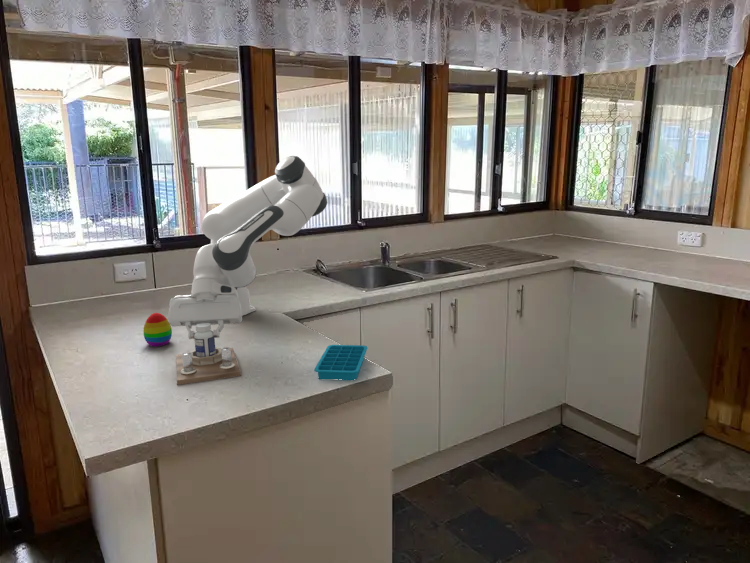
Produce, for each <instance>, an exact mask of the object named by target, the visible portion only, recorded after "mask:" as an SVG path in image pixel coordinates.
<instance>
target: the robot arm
mask: <svg viewBox="0 0 750 563" xmlns="http://www.w3.org/2000/svg"><path fill="white" fill-rule="evenodd" d="M327 205H328V199H327V197H326V194H325V192H323V189H322V187H321V186H320V183H319V182H318V180H317V178H316V177H315V176H314V175H313V173H312V171H310V170H309V168H308V167H307V166H306V163H305V161H303V160H302V158H300V157H299V156H296V155H291V156H287V157H285V158H283V159H282V160H281V161H279V162H278V163H277V165H276V166H275V169H274V175H271V176H268V177H267V178H265V179H263V180H261V181H260V182H258V183H256V184H255V185H253V186H251V187H250V188H248V189H246V190H244V191H243V192H241V193H239V194H237V195H235V196H234V197H231V198H230V199H228V200H227V201H225V202H224V203H221V204H220V205H218V206H216V207H214V208H213V209H211V210H209V211H208V212H206V214H205V215H204V217H203V218H202V222H201V230H202V233H203V234H204V235H205V237H206V238H208V239H209V240H210V243H209V244H205V245H203V246H201V247H200V248H199V249H198V250H197V253H196V254H195V257H194V258H195V259H194V263H193V270H192V271H193V272H192V274H193V280H192V283H191V291H190V292H191V294H186V295H175V296H174V297H172V298H171V299H170V300H169V303H168V304H169V306H168V307H169V310H168V313H167V314H168V315H167V320H168V322H169V323H170V325H171V327H174V328H175V327H185V328H186V331H187V332H188V335H187V336H188V339H189V340H194V334H195V333H196V332H195V330H191V329H192V328H193V327H194V326H195V327H196V325H197V324H200V323H210V324H211V326H212V325H218V327H217V328H216V329H213V330H212V331H213V332H214V333H213V337H214V338H217V339H218V338H220V337H221V336H220V333H221V332H222V331H223V329H224V328H225V325H230V324H240V323H241V322H242V321H243V316H245V315H247V314H250V313H253V312H255V311H256V307H255V306H253V305H252V304H251V301H250V291H249V289H248V288H247V286H249V285H251V284H252V283H253V282H254V281H255V278H256V276H257V270H256V265H255V263H254V260H253V258H252V255H251V249H252V246H253V245H254V244H255V242H257V241H258V240H259V239H261V238H262V237H263V236H264V235H265V234H267V233H268V232H269V231H271V230H272V231H273V232H274V233H277V234H278V235H281V236H285V237H289V236H293V235H295V234H297V233H298V232H299V231H300V230H302V229H303V228H304V226H305V225H306V224H307V223H308V222H309V221H310V220H311V218H312V217H316V216H318V215H319V214H321V213H322V212H324V211H325V209H326V207H327Z"/></svg>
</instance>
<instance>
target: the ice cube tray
mask: <svg viewBox="0 0 750 563" xmlns="http://www.w3.org/2000/svg"><path fill="white" fill-rule="evenodd" d="M367 351H368V346H367V345H363V344H362V345H361V344H360V345H356V344H355V345H353V344H350V345H349V344H329V345H328V346H327V347H326V349H325V350H324V352H323V354H322V355H321V357H320V359H319V361H318V362H317V363H316V366H315V367H314V372H315V373H317V377H319V378H320V379H338V380H337V381H340V380H339V379H342V380H341V381H351V380H353V381H355V380H354V379H356V378H358V376H359V374H360V373H359V372H360V370H361V368H362V365H363V362H364V359H365V357H366V356H365V355H366V354H367ZM360 367H361V368H360ZM357 375H358V376H357ZM319 378H318V379H319ZM320 379H319V380H320ZM356 380H357V379H356Z"/></svg>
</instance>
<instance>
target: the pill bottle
mask: <svg viewBox="0 0 750 563" xmlns="http://www.w3.org/2000/svg"><path fill="white" fill-rule="evenodd" d="M195 331H196V332H195V334H194V339H193V340H194V350H196V356H197V357H207V356H213V355H215V354H216V350H215V347H216V341H215V338H214V337H213V333H214V332H213V330H212V325H211V324H210V323H200V324H197V325H196V326H195Z"/></svg>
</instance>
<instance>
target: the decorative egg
mask: <svg viewBox="0 0 750 563" xmlns="http://www.w3.org/2000/svg"><path fill="white" fill-rule="evenodd" d="M172 331H173V329H172V326H171V325H170V323H169V322H168V317H167V316H165V315H163V314H162V313H160V312H153V313H151V314H150V315H149V316H148V317H147V319H146V320H145V323H144V325H143V337H144V340H145V342H146V343H147V344H148V345H149V346H150V347H157V348H158V347H163V346H165V345H168V344H169V342H170V341H171V339H172V335H173V334H172V333H173V332H172Z"/></svg>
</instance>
